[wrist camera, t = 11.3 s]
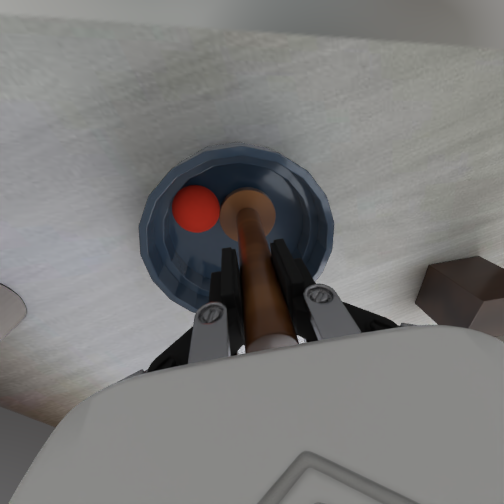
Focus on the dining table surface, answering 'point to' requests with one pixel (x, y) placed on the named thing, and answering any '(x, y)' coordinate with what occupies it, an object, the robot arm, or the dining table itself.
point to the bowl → (213, 240)
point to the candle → (10, 310)
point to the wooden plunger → (257, 270)
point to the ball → (195, 208)
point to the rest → (465, 295)
